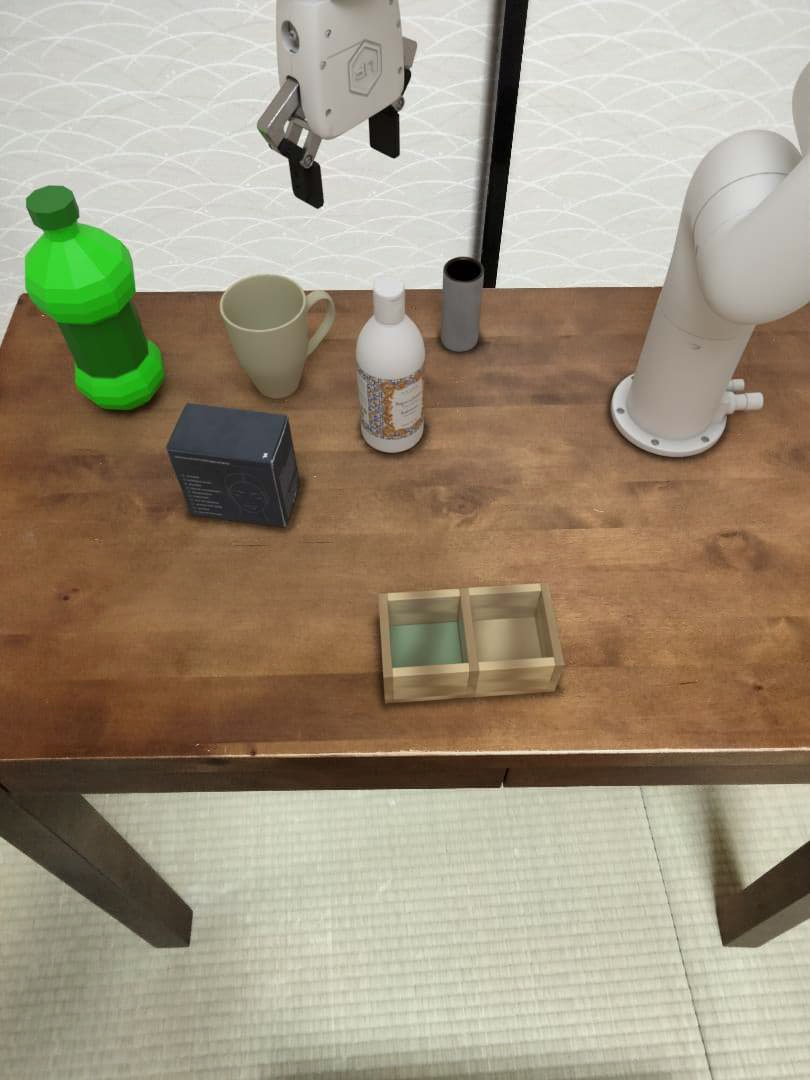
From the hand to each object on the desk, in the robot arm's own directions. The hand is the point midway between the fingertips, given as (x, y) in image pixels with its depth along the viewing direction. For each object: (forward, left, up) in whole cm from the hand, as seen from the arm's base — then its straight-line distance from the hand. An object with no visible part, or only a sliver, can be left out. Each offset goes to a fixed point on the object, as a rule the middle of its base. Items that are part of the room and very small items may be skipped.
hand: (347, 176), depth 72 cm
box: (+13, +15, -27) cm, 33 cm away
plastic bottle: (+27, -1, -27) cm, 38 cm away
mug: (+9, -2, -27) cm, 29 cm away
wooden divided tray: (-8, +35, -27) cm, 45 cm away
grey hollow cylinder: (-12, -7, -27) cm, 30 cm away
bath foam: (-3, +7, -27) cm, 28 cm away
